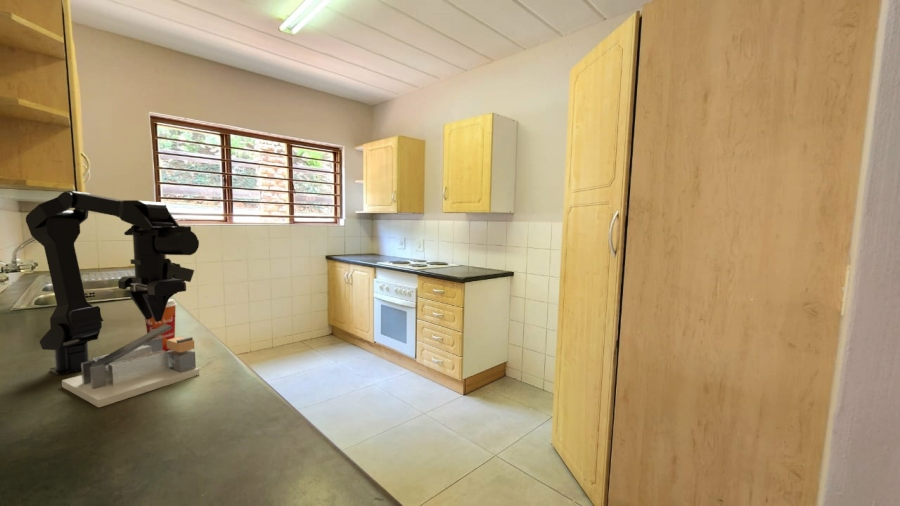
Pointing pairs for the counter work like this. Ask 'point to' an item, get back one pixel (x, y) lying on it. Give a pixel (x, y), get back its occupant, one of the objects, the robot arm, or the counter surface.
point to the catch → (180, 344)
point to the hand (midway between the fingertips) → (153, 320)
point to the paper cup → (166, 319)
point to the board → (124, 387)
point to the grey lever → (132, 346)
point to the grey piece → (137, 365)
